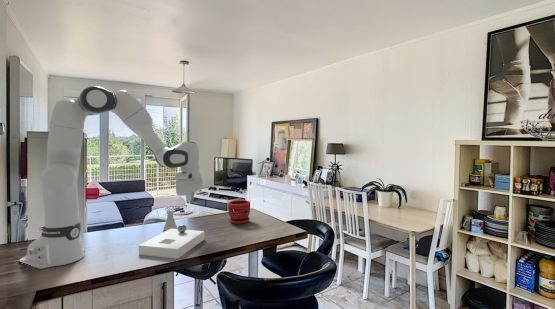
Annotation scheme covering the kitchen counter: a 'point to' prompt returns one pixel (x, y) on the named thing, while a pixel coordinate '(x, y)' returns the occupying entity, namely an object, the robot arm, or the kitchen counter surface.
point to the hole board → (171, 243)
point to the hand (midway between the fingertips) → (190, 201)
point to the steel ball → (181, 228)
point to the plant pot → (239, 211)
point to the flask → (170, 222)
